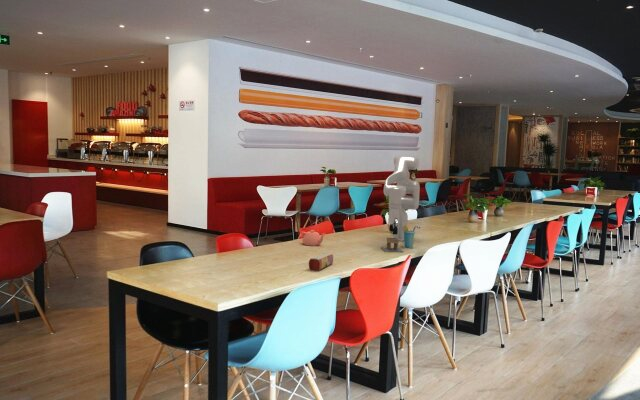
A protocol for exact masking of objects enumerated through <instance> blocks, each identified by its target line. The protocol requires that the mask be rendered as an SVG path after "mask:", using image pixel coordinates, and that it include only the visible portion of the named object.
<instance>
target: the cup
mask: <svg viewBox="0 0 640 400" xmlns="http://www.w3.org/2000/svg"><path fill="white" fill-rule="evenodd" d="M416 228H418V229H421V227H420V226H418V225H414V227H413V230H409V227H408V225H407V226H406V225H405V226H403V232H404V241H403V244H404V245H403V246H404V248H405V249H412V248H413V245H414V239H415V234H416V231H415V230H416Z"/></svg>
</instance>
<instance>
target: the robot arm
mask: <svg viewBox="0 0 640 400" xmlns="http://www.w3.org/2000/svg"><path fill="white" fill-rule="evenodd" d="M393 165H394V169H393V173H392V174H390V175H389V176H388V177H387V178H386V179H385V181H384V186H383V194H384V196H385V197H388V209H389V210H388V220H387V222H388V223H389V228H388V229H389V230H388V231H389V232H391V234H392V236H391V237H390V238H397V239H398V242H399V241H400V242H404V232H403V226H405V225H406V226H407V227H408V217H409V216H408V213H407V212H406V210H412V211H413V210H417V209H418V208H419V205H420V190H421V189H420V187H421V186H420V183H419V182H418V181H417V180H410V175H411V174H410V172H409V170H413V171H415V170H417V169H418V168H419V166H420V159H419V157H418V156H410V155H409V156H408V155H397V156H394V158H393ZM394 183H396V185H394ZM407 194H408V195H407Z"/></svg>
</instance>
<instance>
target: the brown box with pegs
mask: <svg viewBox="0 0 640 400" xmlns="http://www.w3.org/2000/svg"><path fill="white" fill-rule="evenodd" d="M392 244H393V248H394V249H395V250H397V248H399V247H398V246H399V245H398V244H399V241H398V239H397V238H391V237H387V238H386V248H387V249H388V250H391V248H392Z"/></svg>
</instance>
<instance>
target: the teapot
mask: <svg viewBox="0 0 640 400" xmlns="http://www.w3.org/2000/svg"><path fill="white" fill-rule="evenodd" d="M300 235H301V238H302V244H303V246H308V247H318V246H320V245H321V243H322V242H323V240H324V237H325V235H326V232H323V233H322V234H321V236H320V233H319V232H317V231H315V229H311V230H310V231H307V232H306V231H301V233H300Z"/></svg>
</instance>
